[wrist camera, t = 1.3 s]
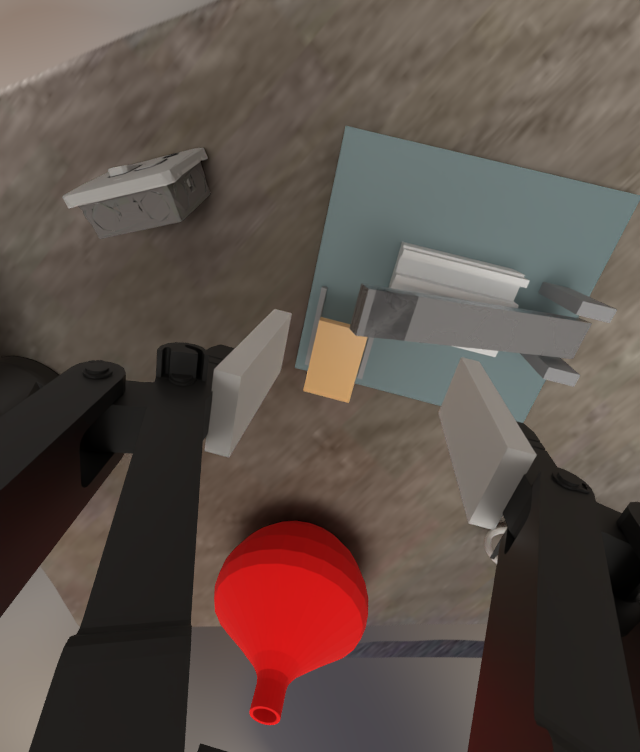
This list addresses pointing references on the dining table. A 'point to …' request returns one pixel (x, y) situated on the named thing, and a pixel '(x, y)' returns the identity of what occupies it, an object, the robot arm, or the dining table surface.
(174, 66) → the dining table surface
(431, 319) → the grey long bar
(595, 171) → the dining table surface
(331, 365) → the orange block
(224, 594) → the vase
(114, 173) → the electrical switch
